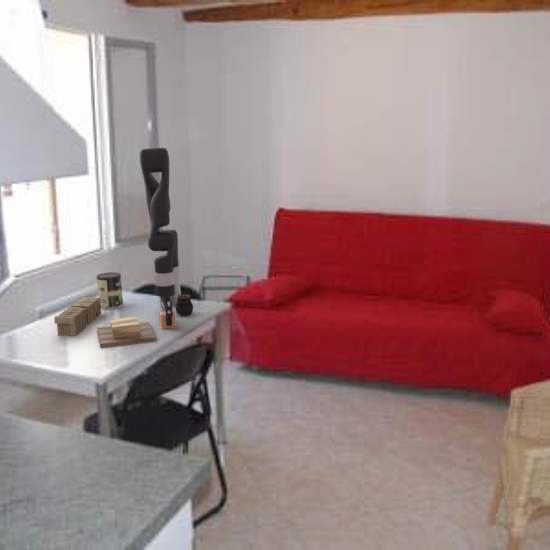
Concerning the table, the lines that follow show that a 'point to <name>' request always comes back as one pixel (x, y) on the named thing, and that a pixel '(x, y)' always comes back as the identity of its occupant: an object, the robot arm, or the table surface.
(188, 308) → the mate gourd
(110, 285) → the coffee can
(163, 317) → the terracotta cube
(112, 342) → the walnut base
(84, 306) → the brown long block
